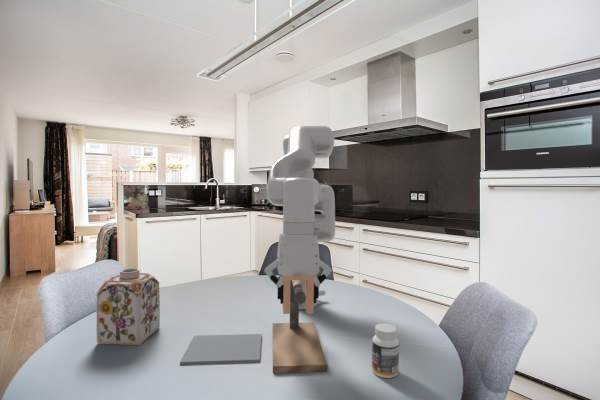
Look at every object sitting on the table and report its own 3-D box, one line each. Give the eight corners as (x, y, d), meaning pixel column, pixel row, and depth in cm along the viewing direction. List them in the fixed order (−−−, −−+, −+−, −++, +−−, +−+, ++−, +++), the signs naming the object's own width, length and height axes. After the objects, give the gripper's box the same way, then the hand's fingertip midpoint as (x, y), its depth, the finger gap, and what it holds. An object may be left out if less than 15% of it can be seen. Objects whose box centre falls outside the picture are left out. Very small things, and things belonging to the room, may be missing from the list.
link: (311, 307, 84) (312, 267, 83) (313, 313, 80) (314, 271, 79) (282, 307, 83) (283, 267, 83) (283, 313, 79) (283, 272, 79)
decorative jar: (121, 326, 97) (121, 264, 97) (160, 327, 97) (160, 265, 96) (94, 345, 85) (94, 275, 85) (139, 346, 85) (139, 275, 84)
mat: (261, 336, 92) (261, 333, 92) (259, 362, 78) (259, 359, 78) (194, 337, 90) (194, 335, 90) (179, 364, 76) (179, 362, 76)
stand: (313, 327, 98) (314, 268, 97) (327, 371, 74) (328, 293, 73) (272, 328, 97) (273, 268, 96) (272, 373, 73) (273, 294, 72)
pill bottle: (368, 365, 76) (369, 322, 76) (393, 365, 77) (393, 322, 77) (376, 379, 71) (377, 333, 70) (402, 378, 71) (403, 332, 71)
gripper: (331, 227, 85) (330, 295, 86) (262, 227, 84) (262, 297, 84) (337, 231, 78) (336, 306, 78) (261, 231, 76) (261, 308, 77)
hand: (297, 301), depth 81 cm, fingers closed on link, 7 cm apart
